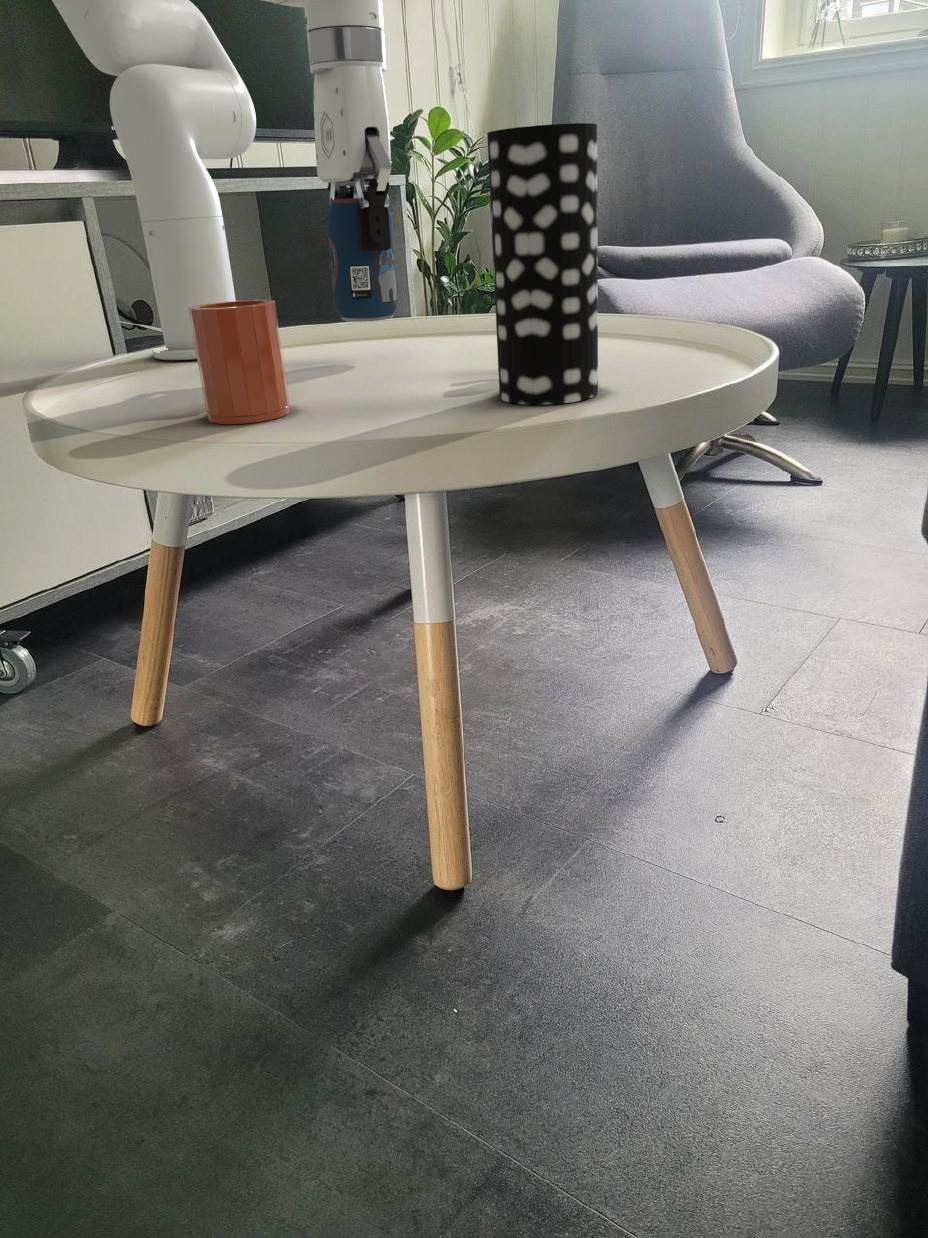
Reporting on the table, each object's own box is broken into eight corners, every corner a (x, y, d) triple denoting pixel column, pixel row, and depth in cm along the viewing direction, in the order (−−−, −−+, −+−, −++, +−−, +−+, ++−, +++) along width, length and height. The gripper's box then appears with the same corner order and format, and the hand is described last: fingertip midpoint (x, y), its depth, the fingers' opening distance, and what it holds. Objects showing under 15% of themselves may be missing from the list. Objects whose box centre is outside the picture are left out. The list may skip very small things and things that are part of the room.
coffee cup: (200, 415, 79) (181, 305, 76) (276, 403, 82) (261, 297, 78) (219, 428, 74) (198, 311, 70) (300, 415, 76) (284, 302, 73)
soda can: (340, 314, 104) (330, 198, 99) (401, 312, 104) (394, 196, 99) (331, 323, 98) (319, 199, 93) (395, 321, 98) (387, 197, 92)
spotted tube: (527, 409, 73) (517, 125, 65) (483, 394, 80) (469, 136, 72) (617, 395, 76) (618, 121, 68) (567, 381, 83) (563, 132, 75)
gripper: (284, 64, 96) (303, 248, 103) (341, 40, 82) (358, 254, 89) (351, 66, 99) (365, 244, 106) (418, 42, 85) (428, 249, 92)
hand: (362, 247), depth 98 cm, fingers closed on soda can, 7 cm apart
